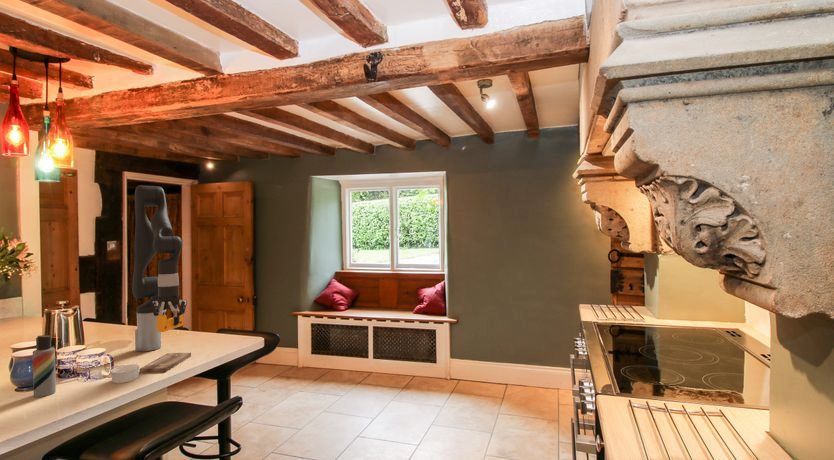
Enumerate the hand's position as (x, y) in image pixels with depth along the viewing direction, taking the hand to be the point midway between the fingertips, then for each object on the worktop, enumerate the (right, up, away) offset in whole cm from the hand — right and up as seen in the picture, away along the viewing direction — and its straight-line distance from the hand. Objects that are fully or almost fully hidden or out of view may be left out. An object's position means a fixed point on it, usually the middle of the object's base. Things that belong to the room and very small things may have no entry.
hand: (169, 325), depth 175 cm
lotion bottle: (-24, -16, -31) cm, 43 cm away
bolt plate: (0, -16, -1) cm, 16 cm away
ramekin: (-6, -16, -18) cm, 25 cm away
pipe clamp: (0, -1, 0) cm, 1 cm away
